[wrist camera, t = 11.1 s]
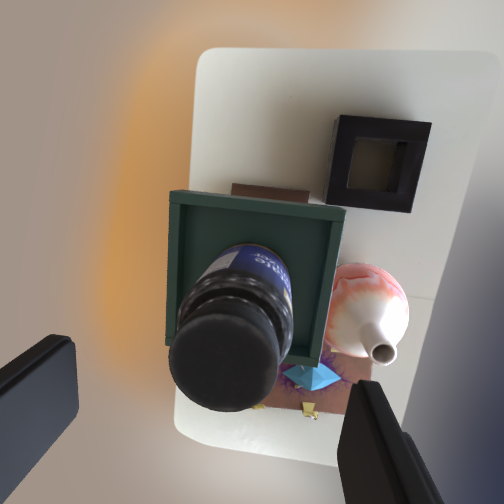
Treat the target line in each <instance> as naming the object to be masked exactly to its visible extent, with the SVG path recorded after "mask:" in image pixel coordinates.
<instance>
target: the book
mask: <svg viewBox="0 0 504 504" xmlns="http://www.w3.org/2000/svg"><path fill="white" fill-rule="evenodd" d="M372 367H373V362H372V361H371V360H370V358H369V357H363V358H361V357H353V356H349V355H346V354H343V353H341V352H339V351H337V350H335V349H334V348H332V347H331V346H330V345H328V344H327V343H326V342H325V341H324V340H323V344H322V350H321V356H320V361H319V366H318V368H315V367H309V366H302V365H295V364H288V363H281V364H280V365H279V370H278V375H277V380H276V382H275V384H274V386H273V388H272V391H271V392H270V393H269V395H268V396H267V397H266V398H265V399H264V400H262V401H261V402H260V403H258V404H257V405H255V406H253V407H251V408H252V409H263V408H264V407H274V408H284V409H293V410H303V415H305V416H306V417H310V418H314V419H315V420H316V419H317V413H318V412H322V413H332V414H342V415H345V413H346V408H347V404H348V399H349V395H350V390H351V386H352V384H353V383H356V384H357V383H358V381H359V380H360V379H362V380H369V381H371V374H372Z"/></svg>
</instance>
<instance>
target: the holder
mask: <svg viewBox="0 0 504 504" xmlns="http://www.w3.org/2000/svg"><path fill="white" fill-rule="evenodd" d="M431 125H432V123H431V122H420V121H408V120H397V119H386V118H374V117H363V116H351V115H339V116H338V117H337V119H336V120H335V123H334V129H333V135H332V142H331V148H330V154H329V161H328V167H327V173H326V180H325V186H324V192H323V199H322V202H323V203H325V204H329V205H338V206H347V207H356V208H365V209H375V210H384V211H393V212H402V213H411V211H412V206H413V202H414V198H415V194H416V189H417V185H418V181H419V176H420V172H421V168H422V164H423V159H424V155H425V151H426V147H427V142H428V138H429V134H430V129H431ZM355 141H363V142H374V143H385V144H396V150H395V155H394V160H393V164H392V169H391V174H390V179H389V183H388V188H387V192H386V191H376V190H367V189H357V188H347V185H348V179H349V173H350V168H351V162H352V156H353V151H354V145H355Z"/></svg>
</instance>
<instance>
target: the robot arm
mask: <svg viewBox="0 0 504 504" xmlns="http://www.w3.org/2000/svg"><path fill="white" fill-rule="evenodd" d="M78 409H79V400H78V383H77V368H76V350H75V343H74V342H72V340H71V338H70V337H68V336H62V335H55V334H51V335H49V336H47V337H45V338H44V339H43V340H41V341H40V342H38V343H37V344H35V345H34V346H33V347H31V348H30V349H28V350H27V351H25V352H24V353H22V354H21V355H19V356H18V357H17V358H15V359H14V360H12V361H11V362H9V363H8V364H7V365H5V366H4V367H2V368H1V369H0V504H3V503H4V501H5V500H6V499H7V498H8V497H9V495H10V494H11V493H12V492H13V490H15V488H16V487H17V486H18V485H19V483H20V482H21V481H22V480H23V479H24V478H25V476H26V475H27V474H28V473H29V472H30V471H31V469H32V468H33V467H34V466H35V465H36V463H37V462H38V461H39V460H40V459H41V457H42V456H43V455H44V454H45V453H46V451H47V450H48V449H49V448H50V447H51V446H52V444H53V443H54V442H55V441H56V440H57V439H58V437H59V436H60V435H61V434H62V433H63V431H64V430H65V429H66V428H67V427H68V426H69V424H70V423H71V422H72V421H73V419H74V418H75V417H76V415H77V413H78ZM337 461H338V467H339V472H340V477H341V482H342V487H343V492H344V497H345V502H346V504H444V502H443V500H442V498H441V496H440V494H439V492H438V490H437V488H436V486H435V484H434V482H433V480H432V478H431V476H430V474H429V472H428V470H427V468H426V466H425V464H424V462H423V460H422V458H421V456H420V454H419V452H418V450H417V448H416V445H415V444H414V441H413V440H412V438H411V437H410V435H409V434H408V433H407V432H402V430H401V428H400V426H399V424H398V422H397V419H396V417H395V415H394V413H393V411H392V409H391V407H390V405H389V402H388V400H387V398H386V396H385V394H384V392H383V390H382V388H381V385H380V384H379V383H378V382H375V381H369V380H362V379H360V380H359V381H358V383H357V384H356V383H353V384H352V386H351V390H350V395H349V399H348V404H347V408H346V413H345V417H344V422H343V426H342V431H341V435H340V440H339V444H338V449H337Z"/></svg>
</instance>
